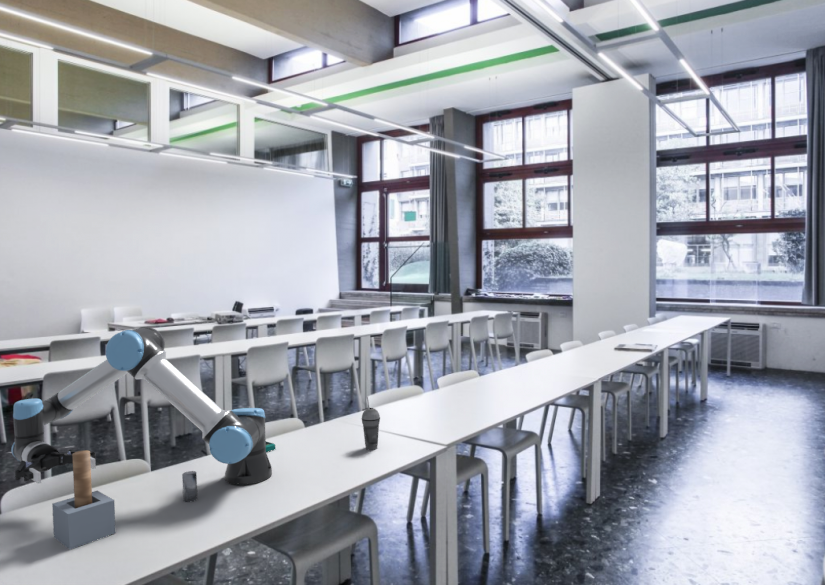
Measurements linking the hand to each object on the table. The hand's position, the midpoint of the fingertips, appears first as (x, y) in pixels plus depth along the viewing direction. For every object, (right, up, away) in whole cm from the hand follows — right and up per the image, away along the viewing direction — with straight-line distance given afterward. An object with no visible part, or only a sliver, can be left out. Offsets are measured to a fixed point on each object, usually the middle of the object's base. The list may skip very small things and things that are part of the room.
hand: (67, 470), depth 155 cm
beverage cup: (+79, -11, +63) cm, 102 cm away
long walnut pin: (+8, -15, -6) cm, 18 cm away
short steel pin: (+27, -14, +16) cm, 35 cm away
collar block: (+9, -15, -6) cm, 18 cm away
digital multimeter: (+34, -13, +66) cm, 75 cm away
